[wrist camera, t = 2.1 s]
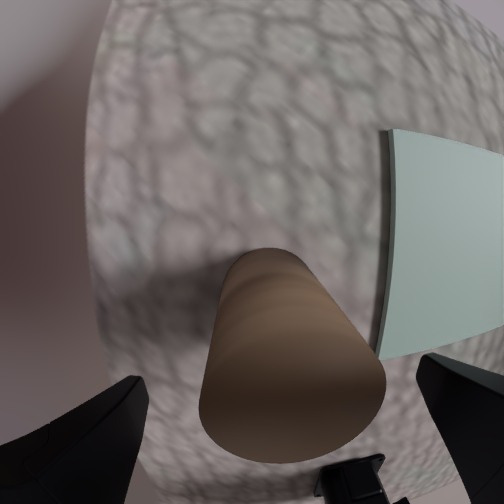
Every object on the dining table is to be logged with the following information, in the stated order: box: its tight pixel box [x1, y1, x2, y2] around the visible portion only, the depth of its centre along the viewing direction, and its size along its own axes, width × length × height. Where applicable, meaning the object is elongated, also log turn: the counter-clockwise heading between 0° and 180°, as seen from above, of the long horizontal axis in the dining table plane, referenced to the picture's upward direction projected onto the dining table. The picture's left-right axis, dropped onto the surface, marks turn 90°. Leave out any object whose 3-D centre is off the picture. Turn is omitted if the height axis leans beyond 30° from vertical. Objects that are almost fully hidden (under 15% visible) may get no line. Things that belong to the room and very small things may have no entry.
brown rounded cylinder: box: [199, 248, 386, 464], centre depth 11 cm, size 5×5×9 cm
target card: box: [375, 129, 504, 360], centre depth 15 cm, size 14×14×1 cm
